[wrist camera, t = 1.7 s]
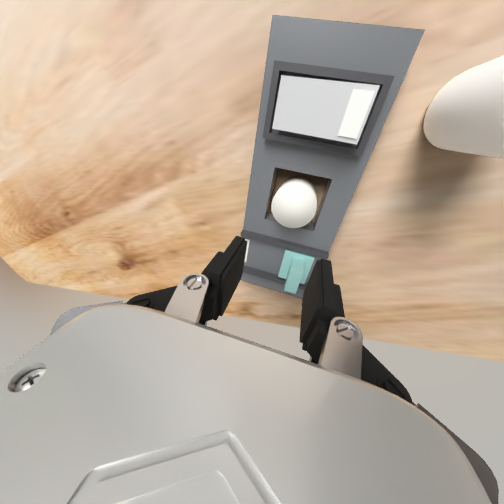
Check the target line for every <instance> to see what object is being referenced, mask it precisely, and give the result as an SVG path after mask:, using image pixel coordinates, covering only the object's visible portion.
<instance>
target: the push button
mask: <svg viewBox="0 0 504 504" xmlns="http://www.w3.org/2000/svg"><path fill="white" fill-rule="evenodd" d="M271 209H272V214H273V216H274V218H275V219H276V221H277V222H278V223H280V224H281V225H283V226H285V227H288V228H299V227H302V226H305V225H306V224H308V223H309V222H310V221H311V220H312V219H313V217H314V216H315V213H316V210H317V194H316V190H315V188H314V186H313V184H312V183H311V182H309V181H308V180H306V179H304V178H299V177H296V178H291V179H288V180H287V181H285V182H284V183H283V184H282V185H281V186H280V188H279V189H278V191H277V193H276V194H275V196H274V198H273V200H272V205H271Z"/></svg>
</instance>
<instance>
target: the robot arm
mask: <svg viewBox="0 0 504 504" xmlns="http://www.w3.org/2000/svg"><path fill="white" fill-rule="evenodd" d="M246 248H247V241H246V240H245V238H243V237H239V236H236V237H235V238H234V240H233V241H232V242H231V244H230V245H229V246H228V248H227V249H226V250H225V252H224V253H223V252H218V253H217V254H216V255H215V257H214V258H213V259H212V260H211V262H210V263H209V264H208V265H207V267H206V268H205V269H204V271H203V272H202V273H201V274H199V273H191V274H188V275H186V276H184V277H183V278H182V279H181V281H180V282H179V284H178V286H174V287H170V288H166V289H162V290H158V291H154V292H150V293H146V294H142V295H138V296H135V297H133V298H132V299H130V300H129V301H128V302H127V303H123V301H118V302H112V303H104V304H97V305H90V306H83V307H78V308H74V309H71V310H69V311H66V312H65V313H64V314H62V315H61V316H60V317H59V318H58V320H57V322H56V323H55V325H54V327H53V330H52V332H51V334H50V335H49V336H48V337H47V338H46V339H44V340H43V341H41V342H40V343H39V344H38V345H36V346H35V347H34V348H32V349H31V350H30V351H28V352H27V353H26V354H25V355H23V356H22V357H21V358H19V359H18V360H17V361H16V362H14V364H12V365H11V366H9V367H8V368H7V369H6V370H5V371H3V372H2V373H1V374H0V504H498V485H497V481H496V479H495V477H494V475H493V473H492V471H491V469H490V468H489V467H488V465H487V464H486V462H485V461H484V460H483V459H482V458H481V457H480V456H479V455H478V454H477V453H476V452H475V451H474V450H473V449H471V448H470V447H469V446H468V445H467V444H466V443H464V442H463V441H462V440H461V439H460V438H459V437H457V436H456V435H455V434H454V433H453V432H451V431H450V430H449V429H448V428H447V427H446V426H445V425H443V424H442V423H441V422H440V421H439V420H437V419H436V418H435V417H434V416H433V415H432V414H430V413H429V412H428V411H427V410H426V409H424V408H423V407H422V406H421V405H420V404H417V405H415V404H414V403H413V402H412V399H411V397H410V395H409V393H408V391H407V390H406V388H405V387H404V386H403V385H402V384H401V383H400V381H399V380H398V379H396V378H395V377H394V376H393V375H392V374H391V373H390V372H389V371H388V370H387V369H386V368H385V367H384V366H383V365H382V364H381V363H380V362H379V361H378V360H377V359H376V358H375V357H374V356H373V355H372V354H371V353H370V352H369V351H368V350H367V349H366V348H365V347H364V346H363V345H362V341H363V336H362V332H361V330H360V329H359V327H358V326H357V325H356V324H355V323H354V322H352V321H351V320H349V319H347V318H345V316H344V309H343V303H342V297H341V290H340V286H339V285H336V284H334V282H333V274H332V265H331V261H329V260H325V259H321V260H317V261H316V263H315V266H314V268H313V271H312V273H311V276H310V278H309V281H308V283H307V285H306V288H305V290H304V293H303V301H302V315H301V328H300V342H301V343H303V347H302V349H303V350H305V351H307V352H308V353H309V354H310V356H311V357H310V360H309V361H307V360H304V359H301V358H298V357H295V356H292V355H290V354H287V353H284V352H281V351H278V350H275V349H272V348H269V347H266V346H263V345H260V344H258V343H255V342H252V341H249V340H246V339H243V338H240V337H237V336H234V335H231V334H228V333H225V332H223V331H219V330H217V329H214V328H211V327H207V326H206V325H207V321H208V320H212V319H213V320H217V318H218V316H219V315H220V316H222V315H223V313H224V311H225V309H226V307H227V305H228V303H229V301H230V299H231V297H232V295H233V293H234V291H235V289H236V287H237V285H238V283H239V281H240V279H241V277H242V274H243V268H244V261H245V255H246Z"/></svg>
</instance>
